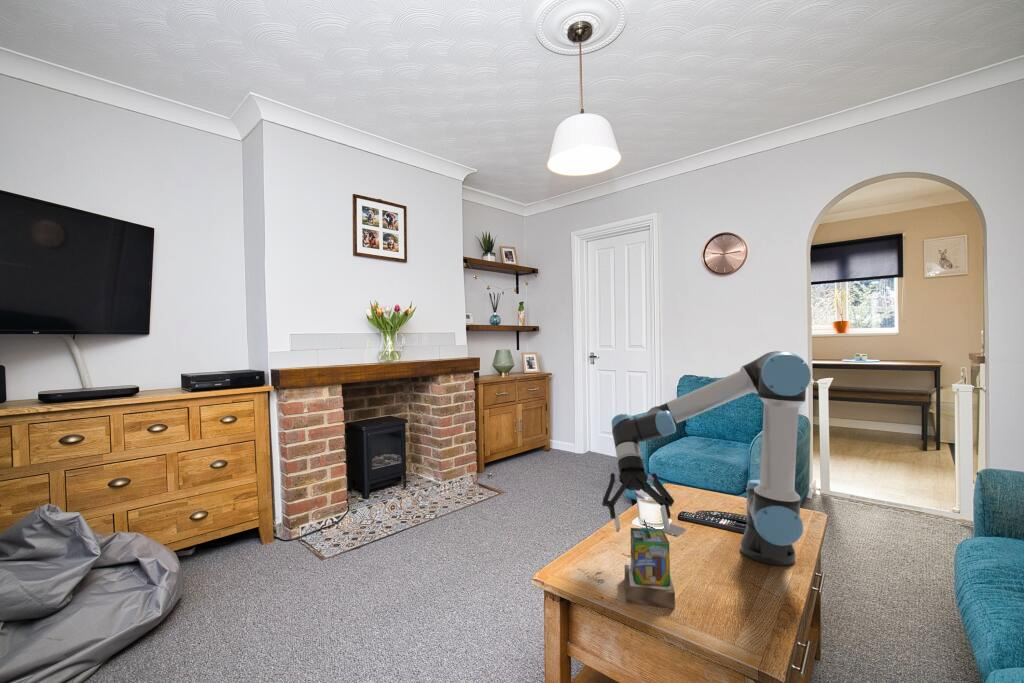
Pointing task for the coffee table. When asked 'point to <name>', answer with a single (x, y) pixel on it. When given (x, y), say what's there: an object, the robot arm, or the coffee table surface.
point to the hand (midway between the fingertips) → (643, 530)
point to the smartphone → (675, 530)
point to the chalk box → (650, 556)
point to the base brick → (648, 592)
